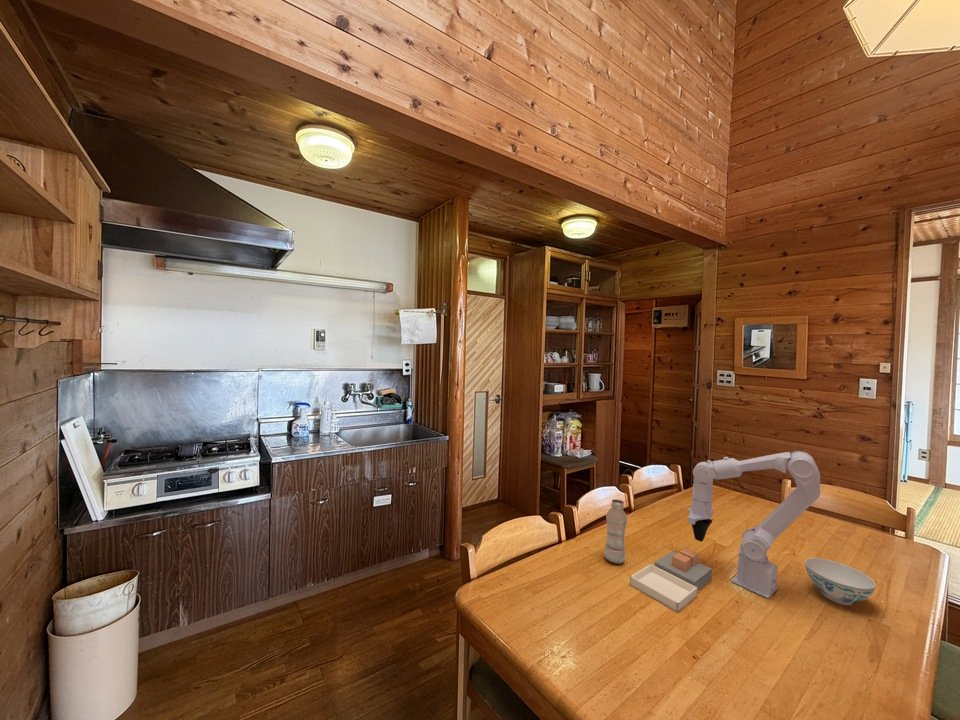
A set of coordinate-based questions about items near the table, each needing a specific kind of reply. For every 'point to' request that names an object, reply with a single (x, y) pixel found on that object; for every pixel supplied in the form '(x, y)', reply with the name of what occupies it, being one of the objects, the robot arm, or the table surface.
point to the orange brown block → (690, 556)
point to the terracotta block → (681, 562)
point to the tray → (664, 587)
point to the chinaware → (839, 581)
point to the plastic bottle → (615, 532)
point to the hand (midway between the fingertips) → (698, 539)
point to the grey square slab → (693, 576)
